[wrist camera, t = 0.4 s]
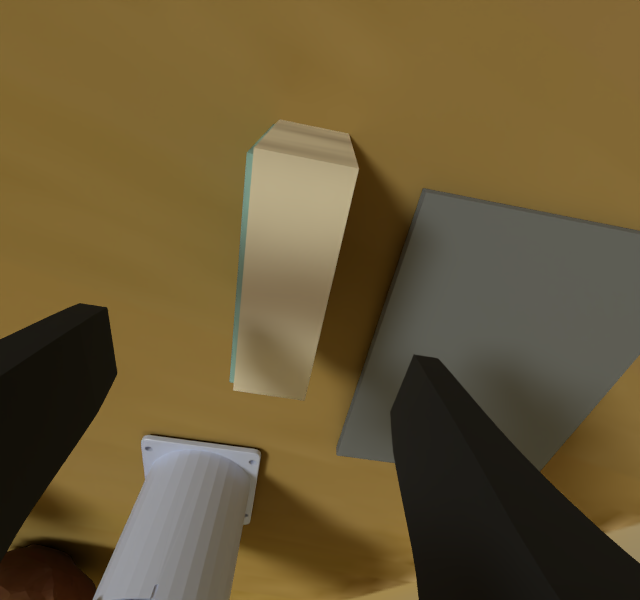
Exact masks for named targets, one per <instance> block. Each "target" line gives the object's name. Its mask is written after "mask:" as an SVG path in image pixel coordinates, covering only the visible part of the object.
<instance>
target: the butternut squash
mask: <svg viewBox="0 0 640 600" xmlns="http://www.w3.org/2000/svg"><path fill="white" fill-rule="evenodd" d="M95 593H96V587H95V584H94V583H93V581H92V580H91V579H90V578H89V577H88V576H87V575H85V574H84V573H83V572H82V571H81V570H80V569H79V568H78V567H77V566H76V565H75V563H74V562H73V560H72V558H71V556H70V555H68V554H66V553H64V552H62V551H59V550H56V549H53V548H49V547H45V546H40V545H35V544H33V545H30V546H28V547H25V548H19V549H15V550H12V551H8V552H6V554H5V556H4V557H3V559H2V561H1V563H0V600H93V597H94V595H95Z"/></svg>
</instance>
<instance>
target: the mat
mask: <svg viewBox="0 0 640 600" xmlns="http://www.w3.org/2000/svg"><path fill="white" fill-rule="evenodd" d="M413 355H421V356H427V357H434V358H438V359H439V360H440V361H441V362H442V363H443V364H444V365H445V366H446V368H447V369H448V370H449V371H450V372H451V373H452V374H453V376H454V377H455V378H456V379H457V380H458V381H459V383H460V384H461V385H462V386H463V387H464V389H465V390H466V391H467V392H468V393H469V394H470V396H471V397H472V398H473V399H474V400H475V401H476V403H477V404H478V405H479V406H480V407H481V408H482V410H483V411H484V412H485V413H486V414H487V415H488V417H489V418H490V419H491V420H492V421H493V422H494V423H495V424H496V426H497V427H498V428H499V429H500V430H501V431H502V432H503V433H504V435H505V436H506V437H507V438H508V439H509V440H510V441H511V442H512V443H513V444H514V445H515V446H516V448H517V449H518V450H519V451H520V452H521V453H522V454H523V455H524V456H525V457H526V458H527V459H528V460H529V461H530V462H531V463H532V464H533V465H534V466H535V467H536V468H537V469H538V471H539V472H540V471H541V470H542V468H543V467H544V466H545V465H546V464H547V463H548V461H549V460H550V459H551V458H552V457H553V455H554V454H555V453H556V452H557V451H558V450H559V448H560V447H561V446H562V445H563V444H564V443H565V441H566V440H567V439H568V438H569V437H570V436H571V434H572V433H573V432H574V431H575V430H576V429H577V427H578V426H579V425H580V424H581V423H582V421H583V420H584V419H585V418H586V417H587V416H588V414H589V413H590V412H591V411H592V410H593V409H594V407H595V406H596V405H597V404H598V403H599V402H600V400H601V399H602V398H603V397H604V396H605V395H606V393H607V392H608V391H609V390H610V389H611V387H612V386H613V385H614V384H615V383H616V382H617V380H618V379H619V378H620V377H621V376H622V375H623V373H624V372H625V371H626V370H627V369H628V368H629V366H630V365H631V364H632V363H633V362H634V361H635V359H636V358H637V357H638V356H639V355H640V231H637V230H632V229H627V228H622V227H617V226H612V225H607V224H602V223H597V222H592V221H587V220H582V219H577V218H572V217H567V216H561V215H556V214H551V213H546V212H541V211H536V210H531V209H526V208H521V207H516V206H511V205H506V204H501V203H496V202H490V201H485V200H480V199H475V198H470V197H465V196H460V195H455V194H450V193H445V192H440V191H435V190H430V189H425V188H423V190H422V193H421V196H420V199H419V202H418V205H417V208H416V211H415V214H414V217H413V220H412V223H411V226H410V229H409V232H408V235H407V238H406V241H405V244H404V247H403V250H402V253H401V256H400V259H399V262H398V265H397V268H396V271H395V274H394V277H393V280H392V283H391V286H390V289H389V292H388V295H387V298H386V301H385V304H384V307H383V310H382V313H381V316H380V319H379V322H378V325H377V328H376V331H375V334H374V337H373V340H372V343H371V346H370V349H369V352H368V355H367V358H366V361H365V364H364V367H363V370H362V373H361V376H360V379H359V382H358V385H357V388H356V391H355V394H354V397H353V399H352V402H351V405H350V408H349V411H348V414H347V417H346V420H345V423H344V426H343V429H342V432H341V435H340V438H339V441H338V444H337V447H336V449H337V455H338V456H346V457H353V458H361V459H368V460H376V461H383V462H391V463H395V460H394V455H393V446H392V434H391V417H390V411H391V408H392V406H393V404H394V401H395V399H396V396H397V394H398V391H399V389H400V387H401V384H402V382H403V379H404V377H405V374H406V372H407V369H408V367H409V365H410V362H411V360H412V357H413Z"/></svg>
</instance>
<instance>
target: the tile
mask: <svg viewBox="0 0 640 600" xmlns="http://www.w3.org/2000/svg"><path fill="white" fill-rule="evenodd" d="M358 171H359V167H358V164H357V160H356V157H355V153H354V150H353V146H352V143H351V139H350V136H349V134H347V133H343V132H338V131H333V130H328V129H323V128H318V127H314V126H309V125H304V124H299V123H294V122H289V121H284V120H279V121H278V122H277V123H276V124H275V125H274V124H273V125H272V127H271V128H270V129H269V130H268V131H267V132H266V133H265V134H264V135H263V136H262V137H261V138H260V139H259V140H258V141H257V142H256V143H255V145H254V146H253V147H252V148H251V149H250V150H249V151H248V152H247V158H246V171H245V184H244V197H243V211H242V224H241V237H240V251H239V264H238V277H237V290H236V304H235V317H234V330H233V344H232V357H231V370H230V382H232V383H234V388H233V390H235V391H242V392H249V393H255V394H262V395H269V396H276V397H283V398H290V399H297V400H304V401H305V396H306V392H307V388H308V384H309V379H310V375H311V371H312V366H313V362H314V358H315V354H316V349H317V345H318V341H319V337H320V332H321V328H322V324H323V320H324V315H325V311H326V307H327V303H328V298H329V294H330V290H331V286H332V281H333V277H334V273H335V269H336V264H337V260H338V256H339V251H340V247H341V243H342V239H343V234H344V230H345V226H346V222H347V217H348V213H349V209H350V205H351V200H352V196H353V192H354V188H355V183H356V179H357V175H358Z"/></svg>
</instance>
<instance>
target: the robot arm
mask: <svg viewBox="0 0 640 600" xmlns="http://www.w3.org/2000/svg"><path fill="white" fill-rule="evenodd" d="M116 375H117V368H116V361H115V355H114V348H113V342H112V335H111V329H110V322H109V316H108V309H107V307H101V306H94V305H88V304H81V303H79V304H77V305H74V306H72V307H69V308H67V309H65V310H62V311H60V312H58V313H56V314H53V315H51V316H49V317H47V318H45V319H43V320H41V321H38V322H36V323H34V324H32V325H30V326H28V327H26V328H24V329H22V330H19V331H17V332H15V333H13V334H11V335H9V336H7V337H5V338H2V339H0V563H1V561H2V559H3V557H4V556H5V554H6V552H7V550H8V549H9V547H10V545H11V543H12V541H13V540H14V538H15V536H16V534H17V533H18V531H19V529H20V528H21V526H22V525H23V523H24V521H25V520H26V518H27V517H28V515H29V514H30V512H31V510H32V509H33V507H34V506H35V504H36V503H37V501H38V500H39V499H40V497H41V496H42V494H43V493H44V491H45V490H46V488H47V487H48V485H49V484H50V482H51V481H52V480H53V478H54V477H55V475H56V474H57V472H58V471H59V469H60V468H61V466H62V465H63V463H64V462H65V461H66V459H67V458H68V456H69V455H70V453H71V452H72V450H73V449H74V447H75V446H76V444H77V443H78V441H79V440H80V439H81V437H82V436H83V434H84V433H85V431H86V430H87V428H88V427H89V425H90V424H91V422H92V421H93V419H94V418H95V416H96V414H97V413H98V411H99V409H100V407H101V405H102V404H103V402H104V400H105V398H106V396H107V394H108V392H109V390H110V388H111V386H112V384H113V382H114V379H115V377H116ZM390 417H391V434H392V446H393V455H394V460H395V465H396V471H397V476H398V481H399V486H400V491H401V496H402V501H403V506H404V511H405V516H406V521H407V526H408V531H409V536H410V541H411V546H412V552H413V558H414V564H415V571H416V578H417V587H418V596H419V600H640V563H638V562H637V561H636V560H635V559H634V558H632V557H631V556H630V555H629V554H628V553H627V552H625V551H624V550H623V549H622V548H621V547H620V546H618V545H617V544H616V543H615V542H614V541H613V540H612V539H610V538H609V537H608V536H607V535H606V534H605V533H604V532H602V531H601V530H600V529H599V528H598V527H597V526H596V525H595V524H594V523H593V522H592V521H591V520H589V519H588V518H587V517H586V516H585V515H584V514H583V513H582V512H581V511H580V510H579V509H578V508H577V507H575V506H574V505H573V504H572V503H571V502H570V501H569V500H568V499H567V498H566V497H565V496H564V495H563V494H562V493H561V492H559V491H558V490H557V489H556V488H555V487H554V486H553V485H552V484H551V483H550V482H549V481H548V480H547V479H546V478H545V477H544V476H543V475H542V474H541V473H540V472H539V471H538V469H537V468H536V467H535V466H534V465H533V464H532V463H531V462H530V461H529V460H528V459H527V458H526V457H525V456H524V455H523V454H522V453H521V452H520V451H519V450H518V449H517V448H516V446H515V445H514V444H513V443H512V442H511V441H510V440H509V439H508V438H507V437H506V436H505V435H504V433H503V432H502V431H501V430H500V429H499V428H498V427H497V426H496V424H495V423H494V422H493V421H492V420H491V419H490V418H489V417H488V415H487V414H486V413H485V412H484V411H483V410H482V408H481V407H480V406H479V405H478V404H477V403H476V401H475V400H474V399H473V398H472V397H471V396H470V394H469V393H468V392H467V391H466V390H465V389H464V387H463V386H462V385H461V384H460V383H459V381H458V380H457V379H456V378H455V377H454V376H453V374H452V373H451V372H450V371H449V370H448V369H447V368H446V366H445V365H444V364H443V363H442V362H441V361H440V360H439V359H438V358H434V357H427V356H421V355H413V357H412V360H411V362H410V365H409V367H408V369H407V372H406V374H405V377H404V379H403V382H402V384H401V387H400V389H399V391H398V394H397V396H396V399H395V401H394V404H393V406H392V408H391V411H390ZM141 448H142V456H143V465H144V473H145V482H144V484H143V486H142V489H141V491H140V493H139V496H138V498H137V500H136V502H135V505H134V507H133V509H132V511H131V514H130V516H129V518H128V520H127V523H126V525H125V527H124V529H123V532H122V534H121V536H120V538H119V541H118V543H117V545H116V548H115V550H114V552H113V554H112V557H111V559H110V561H109V563H108V566H107V568H106V570H105V572H104V575H103V577H102V579H101V581H100V584H99V586H98V588H97V591H96V593H95V595H94V597H93V600H229V599H230V593H231V588H232V582H233V577H234V572H235V566H236V561H237V556H238V550H239V545H240V539H241V534H242V529H243V525H246V524H249V523H250V520H251V514H252V508H253V502H254V496H255V489H256V483H257V477H258V471H259V465H260V459H261V452H260V451H259V450H257V449H252V448H244V447H237V446H229V445H222V444H214V443H207V442H199V441H191V440H184V439H176V438H169V437H161V436H154V435H146V436H144V437H143V439H142V441H141Z"/></svg>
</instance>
